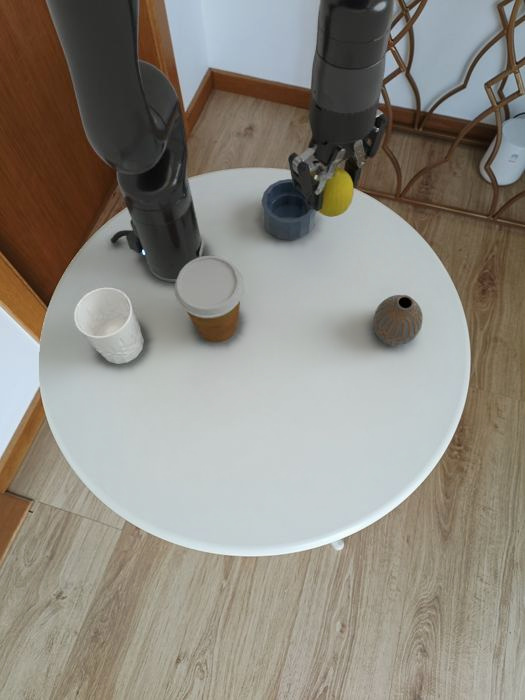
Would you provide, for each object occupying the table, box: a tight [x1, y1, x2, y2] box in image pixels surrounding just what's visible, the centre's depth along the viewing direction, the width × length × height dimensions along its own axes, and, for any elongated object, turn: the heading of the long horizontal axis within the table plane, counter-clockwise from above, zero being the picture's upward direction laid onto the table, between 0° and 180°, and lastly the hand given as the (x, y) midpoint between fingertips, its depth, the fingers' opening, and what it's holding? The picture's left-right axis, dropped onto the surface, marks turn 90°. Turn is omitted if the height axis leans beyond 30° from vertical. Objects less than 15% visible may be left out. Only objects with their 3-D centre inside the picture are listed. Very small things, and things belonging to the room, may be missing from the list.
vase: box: [372, 294, 424, 347], centre depth 77 cm, size 7×7×9 cm
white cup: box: [73, 286, 145, 365], centre depth 77 cm, size 8×8×10 cm
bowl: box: [261, 178, 318, 241], centre depth 89 cm, size 9×9×5 cm
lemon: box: [315, 166, 355, 218], centre depth 72 cm, size 6×6×8 cm
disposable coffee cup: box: [174, 255, 245, 343], centre depth 77 cm, size 10×10×12 cm
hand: (332, 195), depth 72 cm, fingers closed on lemon, 5 cm apart
